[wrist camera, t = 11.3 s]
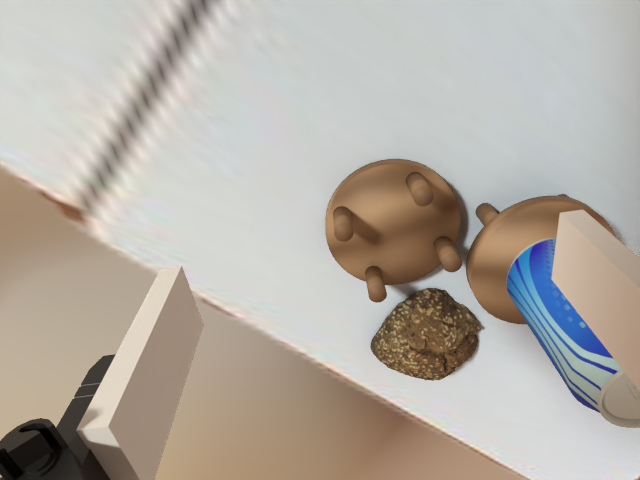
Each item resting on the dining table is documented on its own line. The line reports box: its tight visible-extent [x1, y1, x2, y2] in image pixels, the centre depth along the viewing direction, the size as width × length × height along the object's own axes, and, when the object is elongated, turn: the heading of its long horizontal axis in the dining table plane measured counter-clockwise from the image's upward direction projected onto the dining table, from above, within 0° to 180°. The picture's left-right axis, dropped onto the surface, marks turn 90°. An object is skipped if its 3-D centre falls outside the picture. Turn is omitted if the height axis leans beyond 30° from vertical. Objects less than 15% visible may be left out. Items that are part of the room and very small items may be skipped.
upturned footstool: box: [326, 159, 462, 302], centre depth 46 cm, size 14×14×6 cm
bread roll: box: [371, 288, 481, 381], centre depth 54 cm, size 13×12×5 cm
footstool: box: [466, 194, 615, 324], centre depth 47 cm, size 14×14×6 cm
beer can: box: [506, 238, 640, 428], centre depth 37 cm, size 8×8×16 cm
